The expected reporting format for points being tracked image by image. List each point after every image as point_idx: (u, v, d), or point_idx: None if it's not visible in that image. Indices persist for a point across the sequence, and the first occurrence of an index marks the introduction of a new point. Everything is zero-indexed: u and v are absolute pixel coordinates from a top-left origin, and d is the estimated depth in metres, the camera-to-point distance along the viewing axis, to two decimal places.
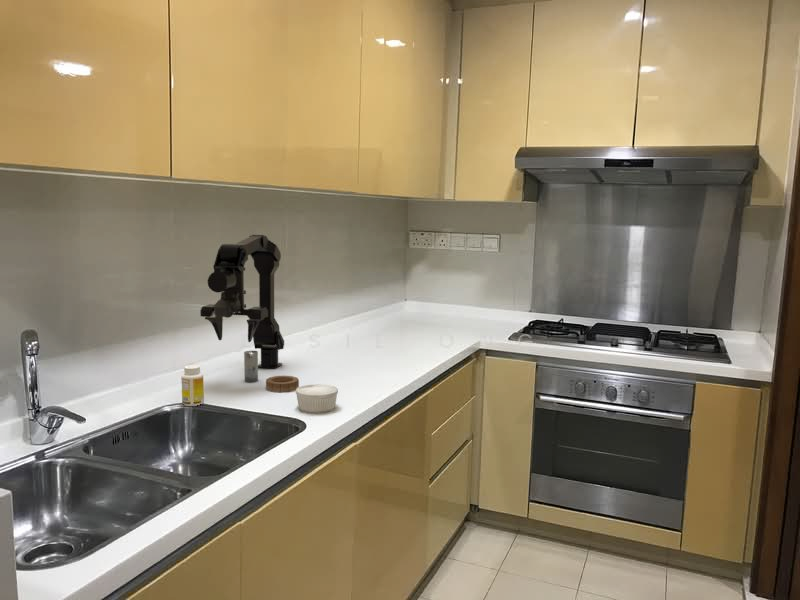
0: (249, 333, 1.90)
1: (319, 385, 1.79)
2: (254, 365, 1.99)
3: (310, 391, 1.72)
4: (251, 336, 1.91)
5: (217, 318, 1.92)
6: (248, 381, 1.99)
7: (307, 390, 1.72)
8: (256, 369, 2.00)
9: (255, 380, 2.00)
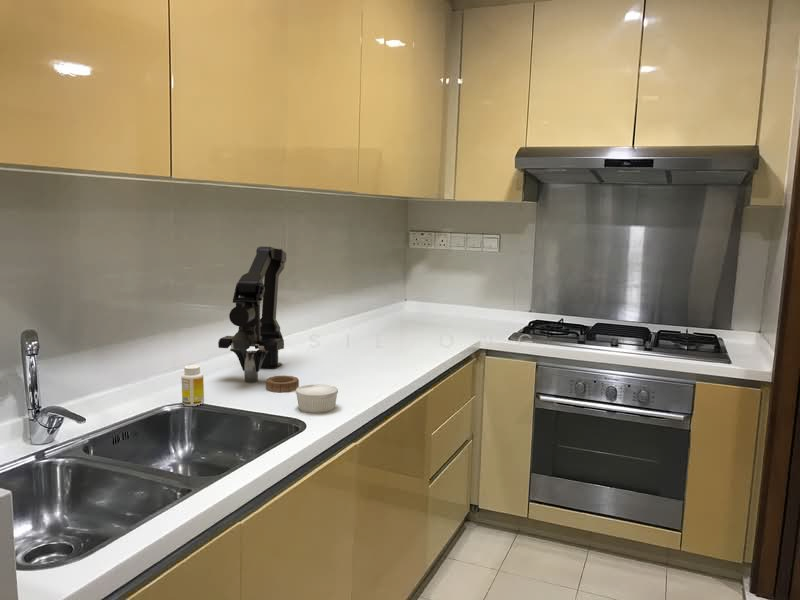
0: (257, 363, 1.99)
1: (319, 385, 1.79)
2: (254, 365, 1.99)
3: (310, 391, 1.72)
4: (259, 366, 2.00)
5: (242, 350, 2.00)
6: (248, 381, 1.99)
7: (307, 390, 1.72)
8: None
9: (255, 380, 2.00)
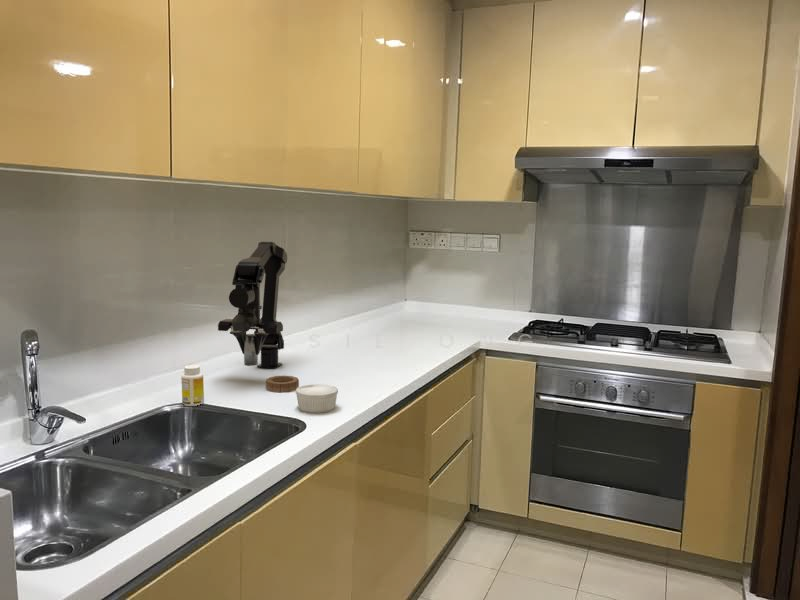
0: (257, 346, 1.98)
1: (319, 385, 1.79)
2: (254, 348, 1.98)
3: (310, 391, 1.72)
4: (259, 349, 1.99)
5: (241, 333, 1.99)
6: (248, 364, 1.98)
7: (307, 390, 1.72)
8: None
9: (255, 363, 1.99)
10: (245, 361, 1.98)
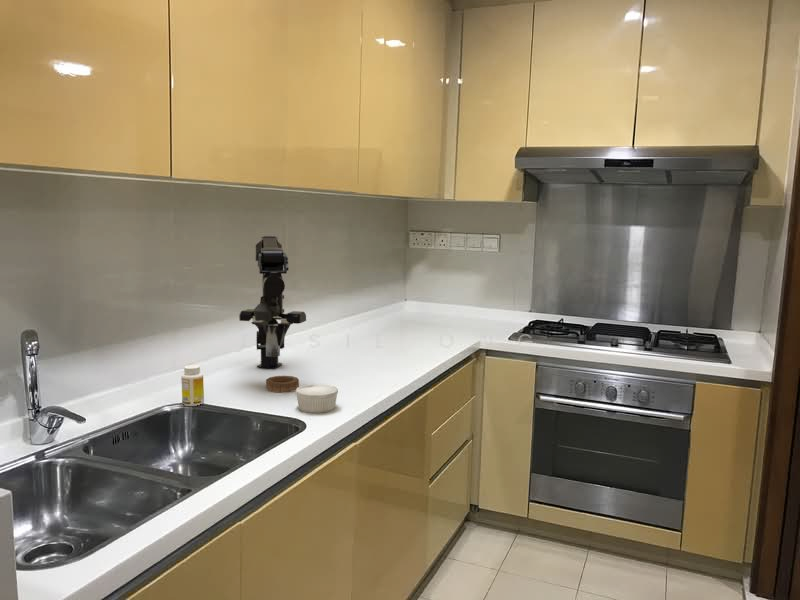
0: (280, 337, 1.92)
1: (319, 385, 1.79)
2: (276, 339, 1.92)
3: (310, 391, 1.72)
4: (281, 340, 1.93)
5: (263, 323, 1.93)
6: (270, 355, 1.92)
7: (307, 390, 1.72)
8: (278, 343, 1.93)
9: (277, 354, 1.93)
10: (267, 352, 1.92)
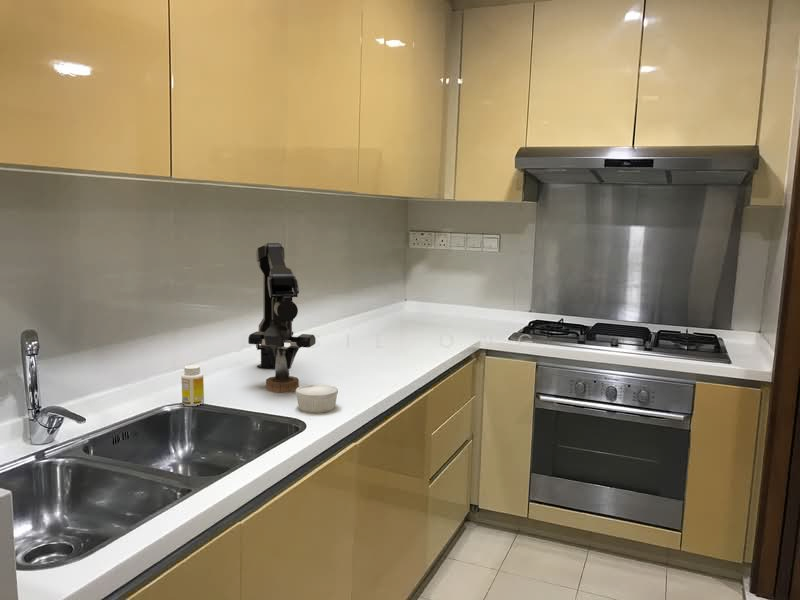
0: (289, 360, 1.91)
1: (319, 385, 1.79)
2: (286, 362, 1.91)
3: (310, 391, 1.72)
4: (291, 363, 1.92)
5: (272, 346, 1.92)
6: (279, 379, 1.91)
7: (307, 390, 1.72)
8: (287, 366, 1.92)
9: (286, 377, 1.92)
10: (276, 375, 1.92)
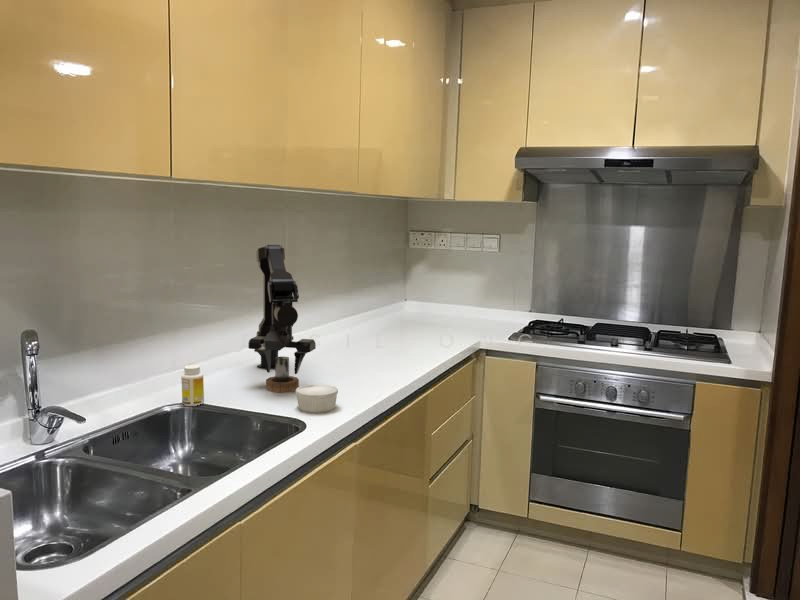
0: (296, 365, 1.91)
1: (319, 385, 1.79)
2: (286, 372, 1.92)
3: (310, 391, 1.72)
4: (297, 368, 1.92)
5: (266, 350, 1.93)
6: None
7: (307, 390, 1.72)
8: (287, 376, 1.92)
9: None
10: None
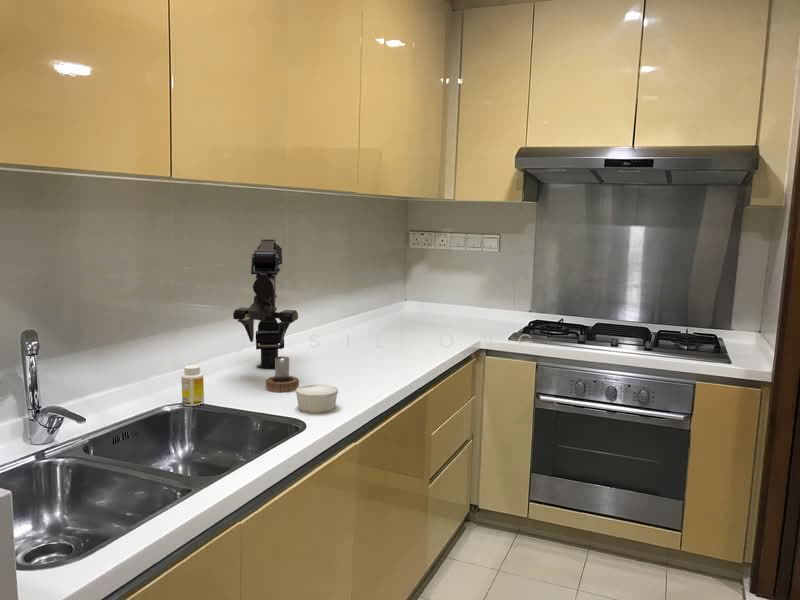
0: (280, 335, 1.99)
1: (319, 385, 1.79)
2: (286, 372, 1.92)
3: (310, 391, 1.72)
4: (282, 338, 2.00)
5: (249, 321, 2.01)
6: None
7: (307, 390, 1.72)
8: (287, 376, 1.92)
9: None
10: None
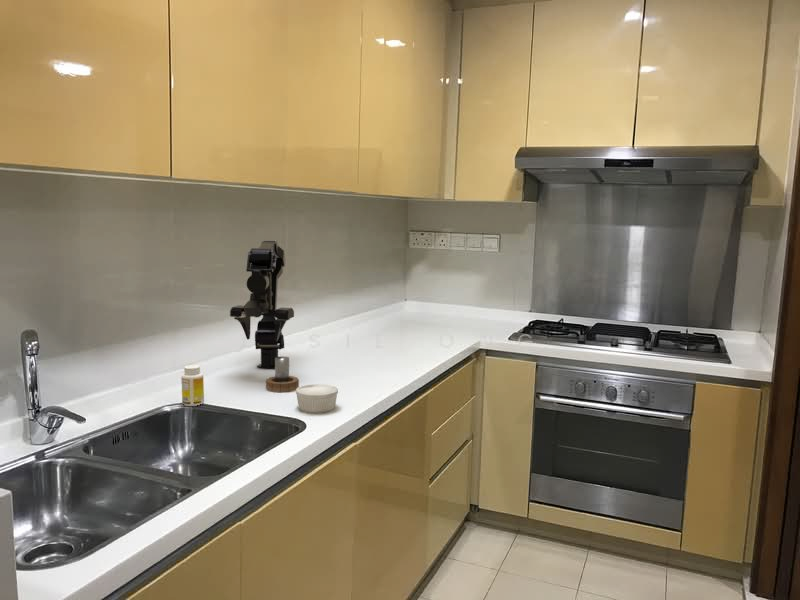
0: (276, 332, 2.00)
1: (319, 385, 1.79)
2: (286, 372, 1.92)
3: (310, 391, 1.72)
4: (278, 335, 2.01)
5: (246, 318, 2.02)
6: None
7: (307, 390, 1.72)
8: (287, 376, 1.92)
9: None
10: None
